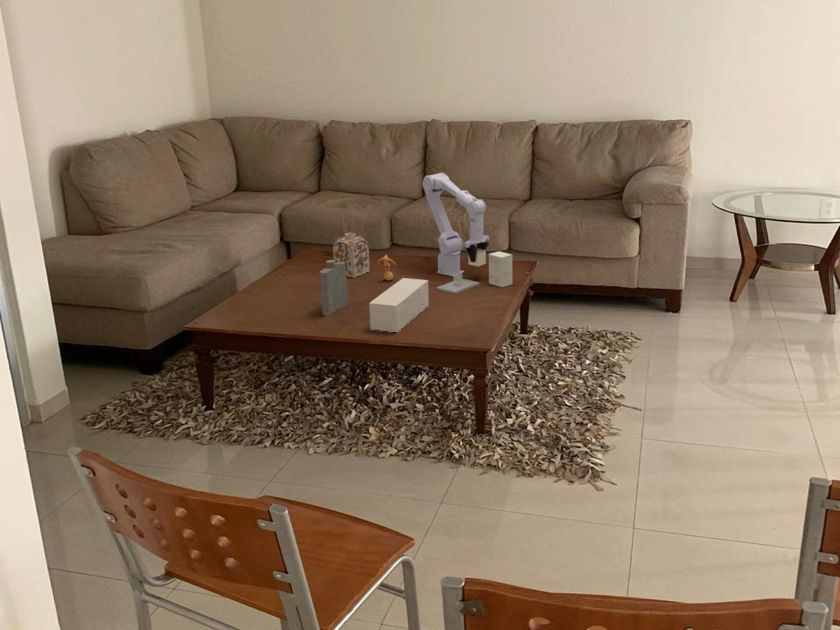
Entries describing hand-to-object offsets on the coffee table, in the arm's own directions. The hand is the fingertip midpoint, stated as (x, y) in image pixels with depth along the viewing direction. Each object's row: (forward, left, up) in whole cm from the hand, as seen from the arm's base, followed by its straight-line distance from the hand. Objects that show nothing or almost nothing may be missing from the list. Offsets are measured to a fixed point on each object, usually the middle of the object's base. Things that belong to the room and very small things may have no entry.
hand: (477, 260), depth 376 cm
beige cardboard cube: (0, 0, -2) cm, 2 cm away
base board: (0, -13, -9) cm, 16 cm away
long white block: (+6, -55, -9) cm, 56 cm away
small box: (+12, +1, -9) cm, 15 cm away
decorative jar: (-51, -25, -9) cm, 58 cm away
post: (0, -13, -9) cm, 16 cm away
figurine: (-30, -24, -9) cm, 39 cm away
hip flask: (-21, -64, -9) cm, 68 cm away
